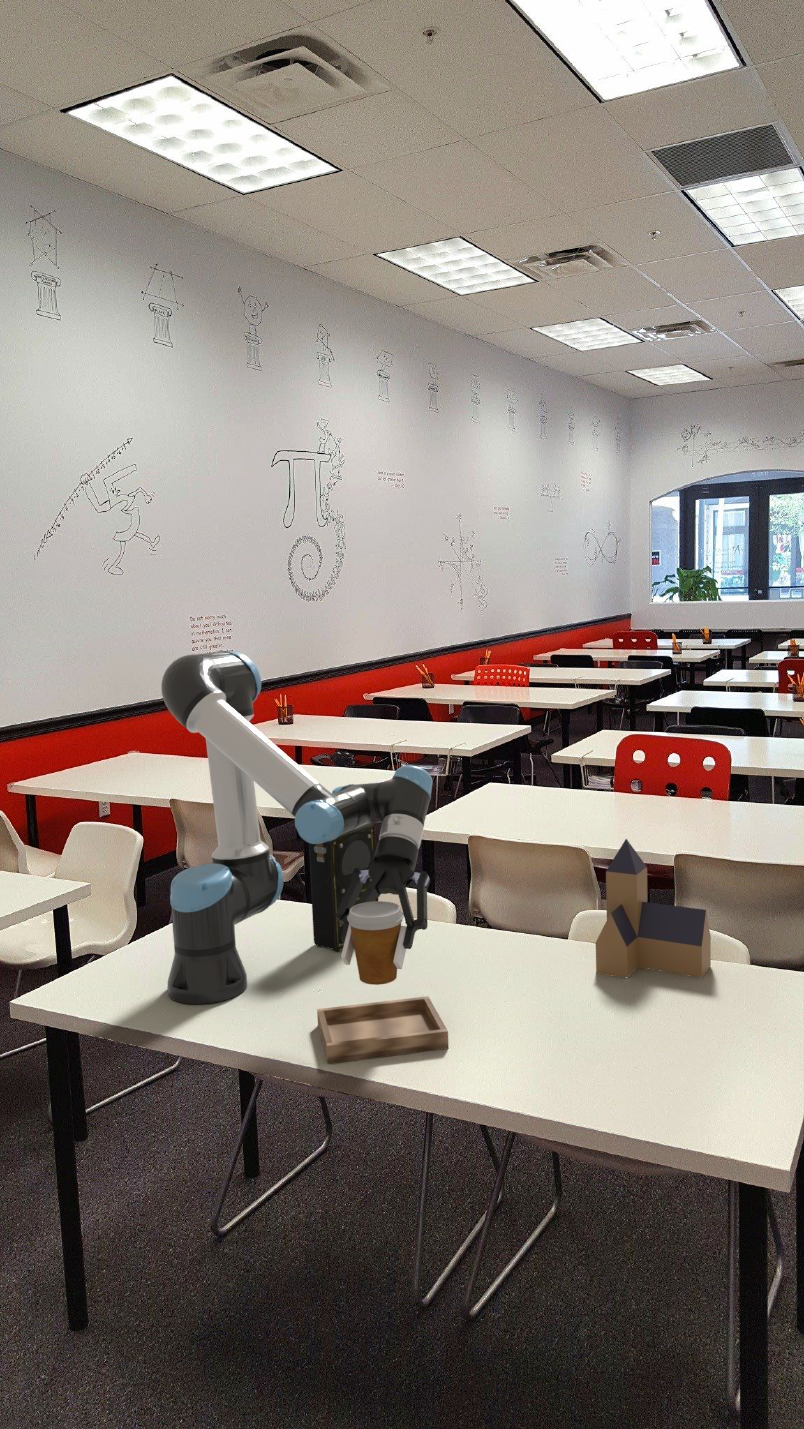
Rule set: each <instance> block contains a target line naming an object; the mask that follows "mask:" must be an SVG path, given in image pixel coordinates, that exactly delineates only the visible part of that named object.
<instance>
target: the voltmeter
mask: <svg viewBox="0 0 804 1429" xmlns="http://www.w3.org/2000/svg"><path fill="white" fill-rule="evenodd" d="M376 847H377V837H376V826H375V823H369V824H365V825H363V826H361V827H359V828H356V829H354V830H352V831H349V832H347V833H344V834H342V835H340V836H338V837H337V838H336V839H334V840H332V841H328V842H324V843H321V844H311V843H309V842H308V854H309V873H310V891H311V892H310V893H311V894H310V895H311V896H310V897H311V907H312V908H311V911H312V912H311V914H312V931H313V932H312V933H313V943H314V945H315V946H317V947H323V948H325V949H331V950H332V951H333V952H337V953H338V952H340V951H341V949H342V950H343V947H344V943H343V942H342V941H341V935H342V931H343V927H344V924H341V923H340V922H339V920H338V919H337V917H336V913H337V911H338V908H339V906H340V904H341V902H342V900H343V898H344V896H345V894H346V892H347V890H348V888H349V885H350V883H351V881H352V878H353V870H354V869H355V868H359V869H360V870H369V868H370V867H371V866H372V864H373V860H374V855H375V851H376ZM370 882H371V878H370V877H369V878H367V879H366V883H363V886H362V889H361V892H360V894H359V896H358V898H357V900H356V902H357V901H358V900H359V898H360V897H361V896H362V894H363V893H364V892H365V891H366V889H367V886H368V884H369V883H370ZM375 889H376V888H375ZM374 901H379V897H378V898H377V899H375V900H374ZM356 902H355V904H356ZM355 904H354V905H355ZM339 950H340V951H339Z"/></svg>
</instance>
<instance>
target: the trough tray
mask: <svg viewBox="0 0 804 1429" xmlns="http://www.w3.org/2000/svg"><path fill="white" fill-rule="evenodd" d="M316 1014H317V1028H318V1031H319V1035H320V1039H321V1042H322V1047H323V1050H324V1053H325V1054H324V1055H325V1058H326V1062H327V1065H329V1064H336V1063H345V1062H352V1061H360V1060H368V1059H376V1058H384V1057H391V1056H394V1057H395V1056H402V1055H409V1054H416V1053H424V1052H431V1051H440V1050H448V1049H449V1047H450V1046H449V1030H448V1029H447V1027H446V1025H445V1024H444V1022H443V1020H442V1018H441V1017H440V1016H441V1015H440V1014H439V1013H438V1011H437V1009H436V1007H435V1005H434V1003H433V1002H432V1000H431V998H430V997H429V995H427V996H418V997H410V998H402V999H393V1000H392V999H391V1000H384V1001H376V1002H369V1003H367V1002H366V1003H358V1004H349V1005H342V1006H341V1005H339V1006H333V1007H323V1008H317V1009H316Z"/></svg>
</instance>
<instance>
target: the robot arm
mask: <svg viewBox="0 0 804 1429" xmlns="http://www.w3.org/2000/svg"><path fill="white" fill-rule="evenodd" d="M261 690H262V678H261V675H260V672H259V669H258V667H257V665H256V664H255V663H254V661H253V660H252V659H250V658H249V657H248V656H247V655H246V654H244V653H242V652H238V651H233V650H232V651H231V650H230V651H229V650H219V651H214V652H213V651H212V652H205V653H198V654H195V653H194V654H187V655H183V656H181V657H178V658H177V659H175V660H174V661H172V663H171V664H170V665H169V666H168V667H167V668H166V670H165V671H164V674H163V676H162V680H161V696H162V699H163V701H164V704H165V706H166V708H167V709H168V711H169V712H170V714H171V715H172V717H174V718H175V720H176V721H177V722H178V723H179V724H181V726H183V727H184V728H186V729H187V731H189V733H193V734H195V733H199V734H200V735H201V736H202V737H204V738H205V744H206V753H207V759H208V770H209V777H210V778H209V779H210V785H211V793H212V794H211V795H212V796H211V797H212V802H213V803H212V804H213V811H214V819H215V820H214V821H215V827H216V829H215V830H216V836H217V844H218V845H217V847H216V848H215V849H214V851H213V852H212V854H211V860H212V863H203V864H199V865H198V866H192V867H191V866H190V867H188V868H186V869H184V870H181V871H180V872H179V873H177V874H175V876H174V878H172V881H171V884H170V896H169V903H170V908H171V924H172V932H173V933H172V934H173V946H174V955H173V960H172V963H171V967H170V972H169V974H168V975H169V976H168V980H167V995H168V997H169V998H170V999H171V1000H173V1001H174V1002H175V1001H176V1002H177V1003H182V1004H189V1005H206V1004H213V1003H219V1002H222V1001H223V1002H224V1001H228V1000H230V999H233V998H235V997H237V996H239V995H240V994H242V993H243V992H244V991H245V990H246V989H247V987H248V976H247V975H248V974H247V971H246V969H245V966H244V964H243V961H242V959H241V957H240V955H239V951H238V949H237V946H236V945H237V944H236V930H235V929H236V928H235V925H237V924H239V923H241V922H243V921H244V920H247V919H249V918H251V917H253V916H255V915H257V914H261V913H263V912H264V911H266V910H268V908H270V906H272V905H273V904H275V902H277V900H278V899H279V897H280V896H281V893H282V891H283V887H284V873H283V869H282V866H281V865H280V863H279V862H278V861H276V858H275V856H273V855H272V854H270V847H269V845H267V844H266V843H265V842H264V841H262V839H261V832H260V824H259V823H260V822H259V814H258V806H257V797H256V789H255V788H256V787H255V784H257V785H258V786H259V787H260V788H261V789H263V791H265V792H266V793H267V794H268V795H269V796H270V797H272V798H273V799H274V801H276V802H277V803H278V804H279V805H280V806H282V807H283V808H284V809H285V810H286V811H287V812H288V813H290V814H291V815H292V816H293V817H294V826H295V829H296V830H297V833H298V835H299V836H300V838H301V839H302V840H303V841H305V842H306V843H308V844H309V843H311V844H321V843H324V842H328V841H332V840H334V839H336V838H337V837H338V836H340V835H342V834H344V833H347V832H349V831H352V830H354V829H356V828H359V827H361V826H363V825H365V824H376V823H377V824H378V823H381V828H380V831H379V836H378V840H377V842H376V851H375V855H374V860H373V864H372V866H371V867H370V868H369V870H360V869H359V868H355V869H354V870H353V878H352V881H351V883H350V885H349V888H348V890H347V892H346V894H345V896H344V898H343V900H342V902H341V904H340V906H339V908H338V911H337V913H336V917H337V919H338V920H339V922H340V923H341V924H344V927H343V931H342V935H341V941H342V942H343V943H344V947H343V949H342V952H341V954H340V958H341V960H342V962H343V963H344V964H345V965H346V966H350V965H351V961H352V958H353V955H354V951H355V949H354V944H353V937H352V932H351V926H350V924H349V922H348V920H347V916H348V915H349V911H350V908H352V907H353V906H355V905H358V904H361V903H365V902H374V900H375V899H377V898H378V899H379V898H380V897H381V895H387V894H391V895H396V896H398V900H399V902H400V908H401V911H402V913H403V914H404V918H403V919H404V921H405V925H401V929H400V933H399V938H398V942H397V947H396V952H395V956H394V961H393V962H394V964H395V966H396V967H397V970H403V968H404V967H403V966H404V961H405V956H406V953H407V950H412V947H413V943H414V940H415V939H414V938H415V934H416V932H417V931H419V930H423V931H424V930H427V929H428V889H429V887H430V882H431V879H430V877H429V874H428V873H427V871H424V870H423V871H421V872H417V871H416V870H415V869H416V865H417V862H418V855H419V852H420V851H419V849H420V847H421V843H422V839H423V838H422V837H423V833H424V829H425V828H424V826H425V822H426V821H425V820H426V817H427V813H428V809H429V807H430V806H429V805H430V801H431V800H432V789H433V783H434V782H433V777H432V776H431V775H430V774H429V772H428V771H427V770H425V769H424V768H421V767H420V766H419V767H418V766H415V765H409V764H408V765H407V764H406V765H403V766H400V767H399V768H397V769H396V770H395V771H394V774H393V775H392V779H391V780H386V781H381V782H369V783H359V784H354V783H351V784H347V785H343V786H337V787H335V788H334V789H332V792H330V791H329V790H328V789H327V788H326V787H325V786H323V785H322V784H321V783H319V782H318V781H317V780H316V779H315V778H314V777H313V776H312V775H310V773H308V772H307V771H306V770H305V769H304V768H303V767H301V766H300V765H299V764H298V763H297V762H296V761H294V760H293V759H292V758H291V757H290V756H288V755H287V753H285V752H284V751H283V750H282V749H280V747H278V745H276V744H275V743H274V742H272V740H270V739H269V738H268V737H267V736H266V735H264V734H263V732H261V731H260V730H259V729H258V728H257V727H256V726H254V725H253V724H252V723H251V722H250V721H251V720H252V719H253V718H254V716H255V714H254V705H253V703H254V702H255V701H256V700H257V699H258V695H260V693H261ZM369 877H370V878H371V882H370V883H369V884H368V886H367V889H366V891H365V892H364V893H363V894H362V896H361V897H360V898H359V900H358V901H357V902H356V900H357V898H358V896H359V894H360V892H361V889H362V886H363V883H366V879H367V878H369ZM413 881H414V883H415V885H416V919H415V917H414V914H413V910H412V907H411V904H410V903H411V902H410V899H409V895H408V892H407V887H409V885H411V883H413ZM375 888H376V889H375ZM355 902H356V904H355ZM354 904H355V905H354Z"/></svg>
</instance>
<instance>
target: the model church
mask: <svg viewBox="0 0 804 1429" xmlns="http://www.w3.org/2000/svg"><path fill="white" fill-rule="evenodd" d="M605 888H606V890H605V891H606V892H605V894H606V898H605V899H606V900H605V901H606V922H605V923H604V925H603V926H602V929H601V931H600V933H599V934H598V937H597V939H596V941H595V973H596V974H600V975H607V976H611V975H613V977H617V976H618V978H623V977H628V978H629V977H630V976H631V975H632V974H633V973H634V972H635V971H636V970H637V969H639V968H641V969H645V968H649V969H648V970H651V969H654V970H653V971H657V970H661V971H660V972H663V971H664V972H665V973H669V972H671V974H675V973H677V974H676V975H682V974H683V975H682V976H687V975H690V976H689V977H693V976H694V977H693V978H699V977H702V978H703V977H704V976H705V975H706V973H707V972H708V971H709V970H710V969H711V967H712V966H711V965H712V964H711V963H712V962H711V961H712V959H711V957H712V956H711V954H712V952H711V951H712V950H711V949H712V947H711V943H712V942H711V940H712V938H711V930H710V924H709V920H708V919H709V918H708V914H707V913H708V912H707V909H703V908H702V909H701V908H696V907H695V908H694V907H687V906H679V905H678V906H677V905H671V904H665V903H664V904H662V903H656V902H655V903H654V902H648V866H647V865H646V863H645V862H644V861H643V860H642V858H641V857H640V856H639V854H638V853H637V851H636V850H635V849H634V847H633V846H632V844H631V843H630V841H629V840H628V839H627V838H625V840H624V841H623V842H622V844H621V846H620V848H619V849H618V851H617V853H616V854H615V856H614V858H613V859H612V861H611V862H610V864H609V866H608V868H607V869H606V871H605ZM710 966H711V967H710ZM636 968H637V969H636ZM708 969H709V970H708ZM634 970H635V971H634ZM707 970H708V971H707ZM632 972H633V973H632ZM664 972H663V973H664ZM672 972H673V973H672ZM631 973H632V974H631ZM629 975H630V976H629ZM703 975H704V976H703Z"/></svg>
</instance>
